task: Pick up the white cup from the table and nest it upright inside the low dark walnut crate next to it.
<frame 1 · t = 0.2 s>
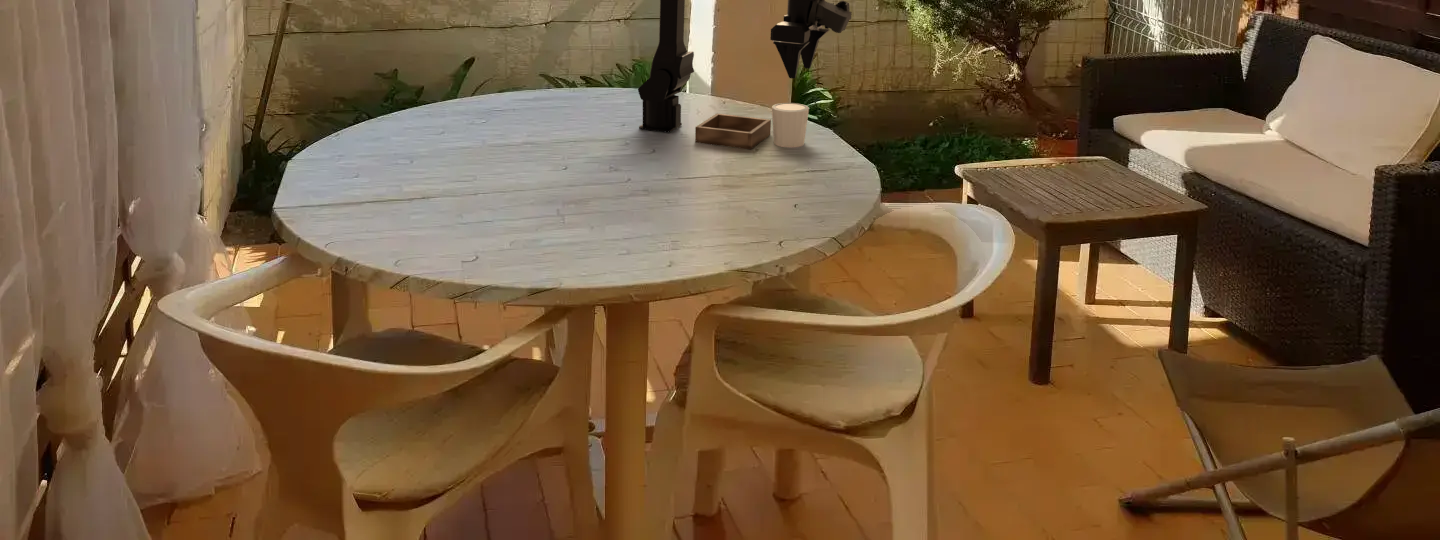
hand: (799, 73, 230), 13 cm above the table, tool pointing down, fingers open, 9 cm apart
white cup: (788, 144, 235), on the table
walnut crate: (733, 138, 237), on the table
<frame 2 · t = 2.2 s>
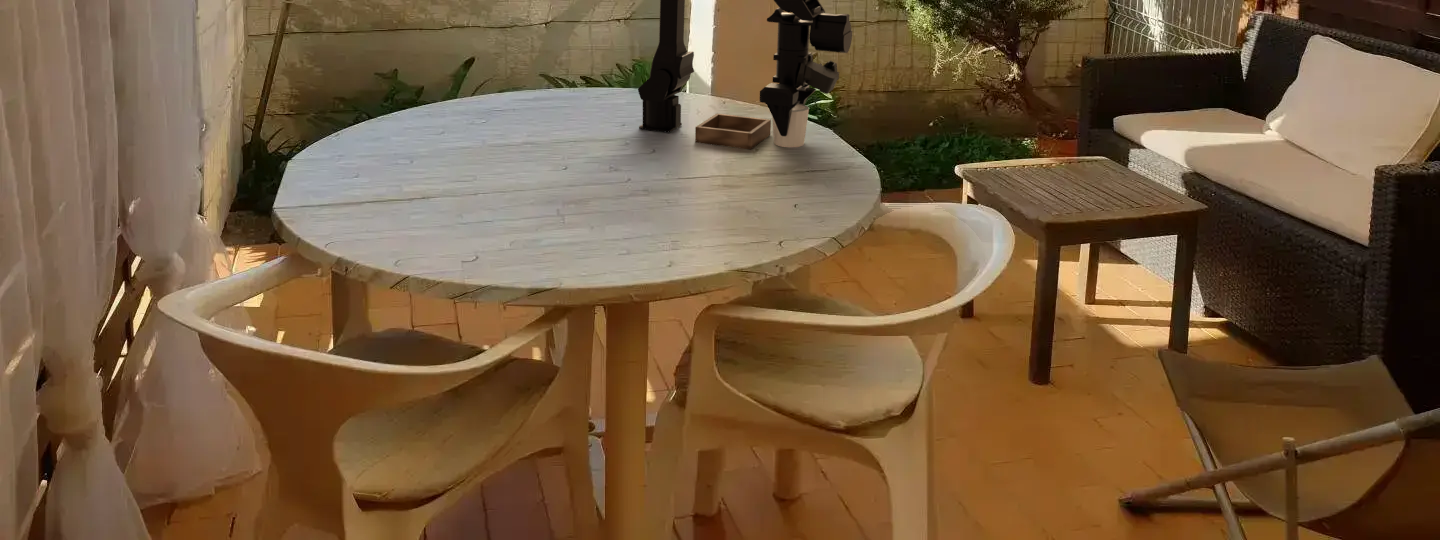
hand: (789, 131, 234), 2 cm above the table, tool pointing down, fingers closed on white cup, 6 cm apart
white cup: (788, 144, 235), on the table, touching gripper
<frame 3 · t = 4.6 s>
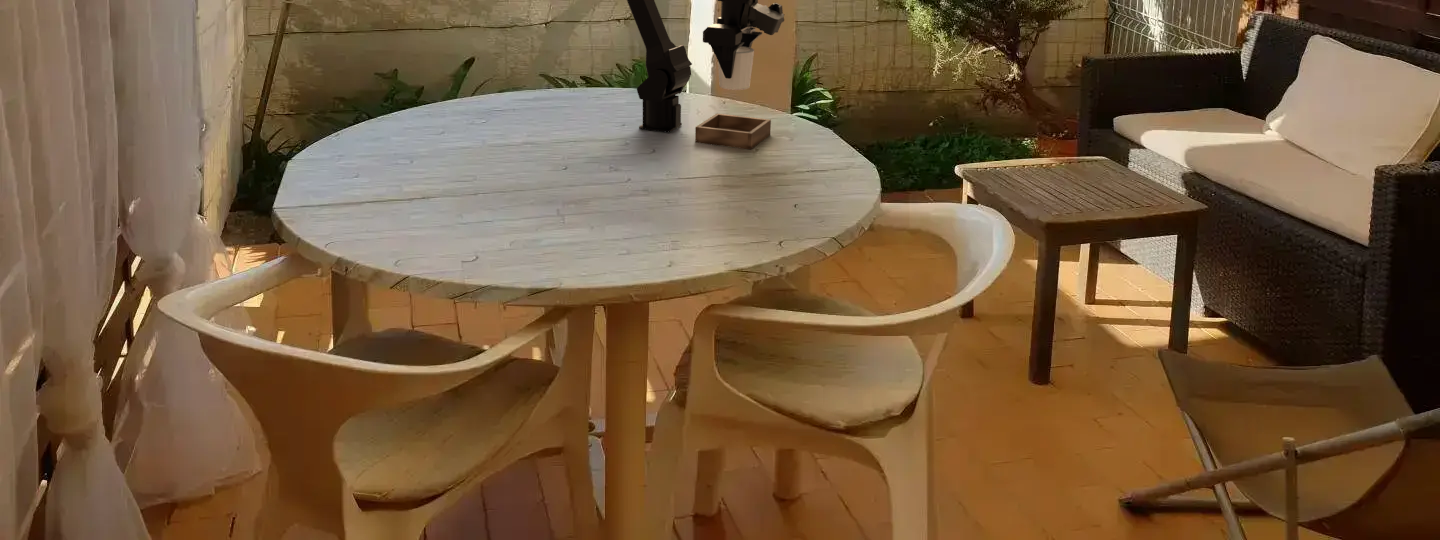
hand: (734, 74, 233), 12 cm above the table, tool pointing down, fingers closed on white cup, 6 cm apart
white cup: (734, 87, 234), point 10 cm above the table, touching gripper
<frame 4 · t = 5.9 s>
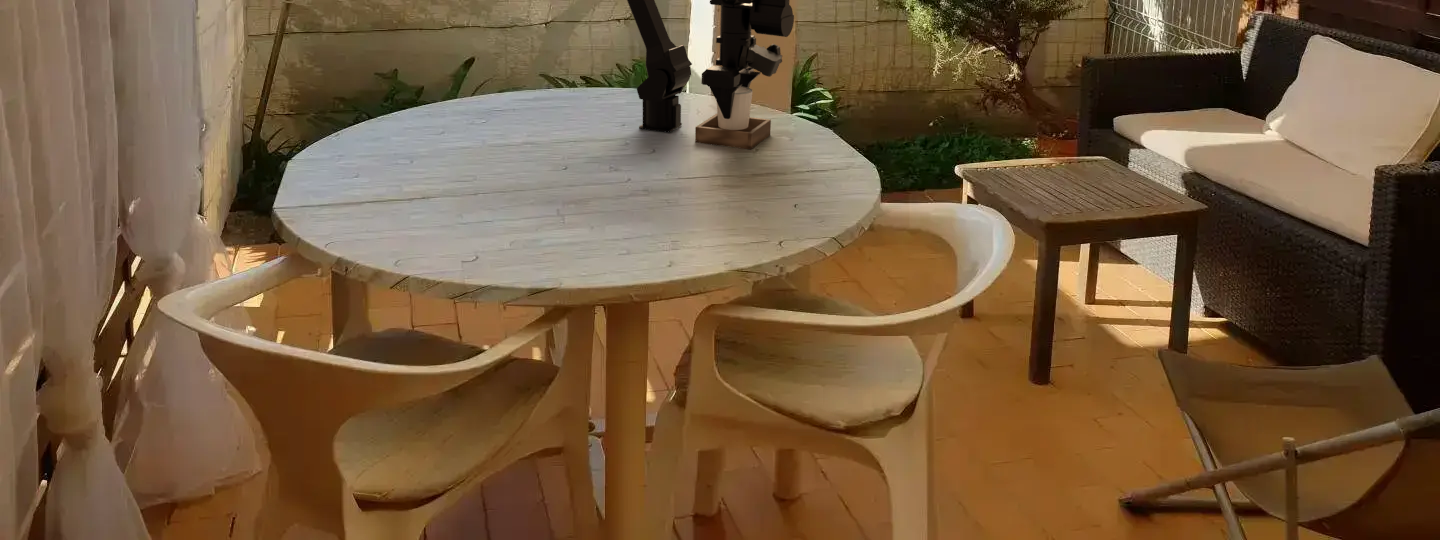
hand: (733, 114, 236), 5 cm above the table, tool pointing down, fingers closed on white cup, 6 cm apart
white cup: (733, 127, 236), point 2 cm above the table, touching gripper
when the fingers open (4 cm above the table, at t = 6.9 s): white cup drops 1 cm, resting on walnut crate.
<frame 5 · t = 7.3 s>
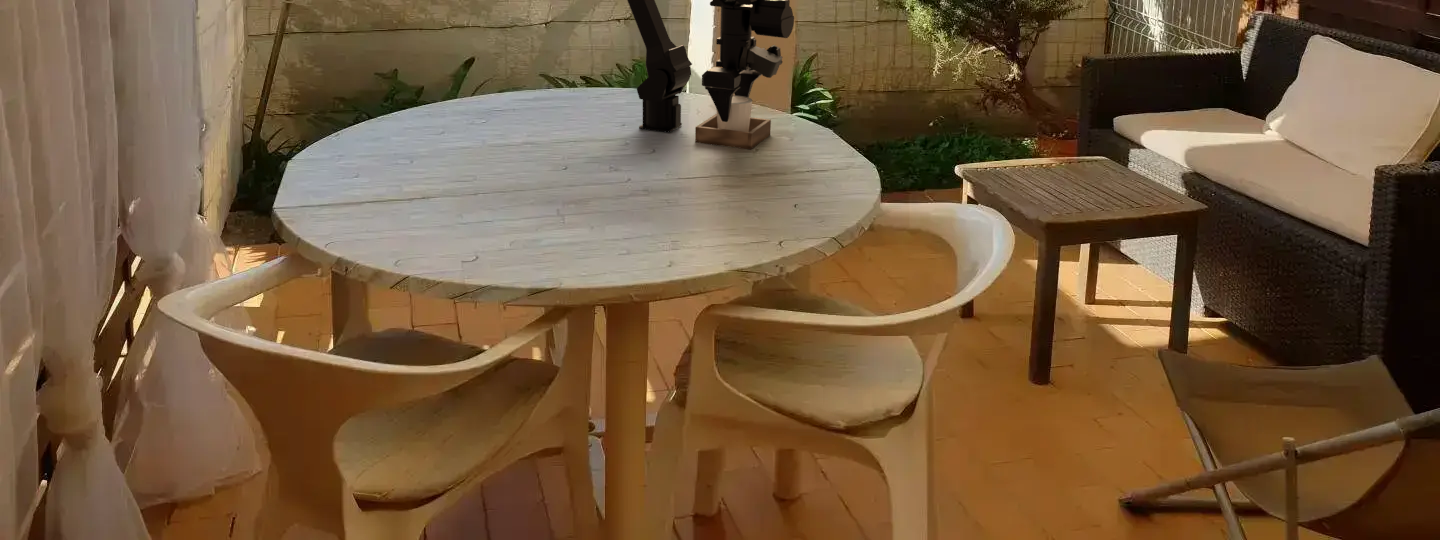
hand: (733, 115, 236), 4 cm above the table, tool pointing down, fingers open, 9 cm apart
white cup: (733, 136, 237), resting on walnut crate
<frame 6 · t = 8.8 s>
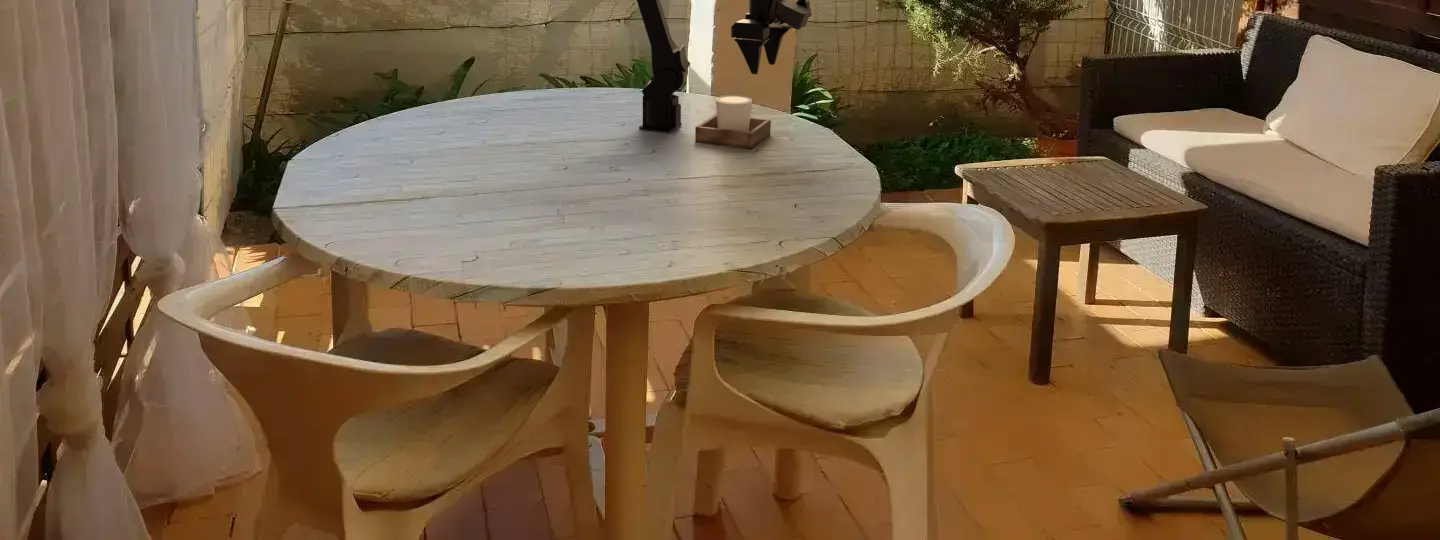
hand: (763, 69, 237), 12 cm above the table, tool pointing down, fingers open, 9 cm apart
nothing on the table moved.
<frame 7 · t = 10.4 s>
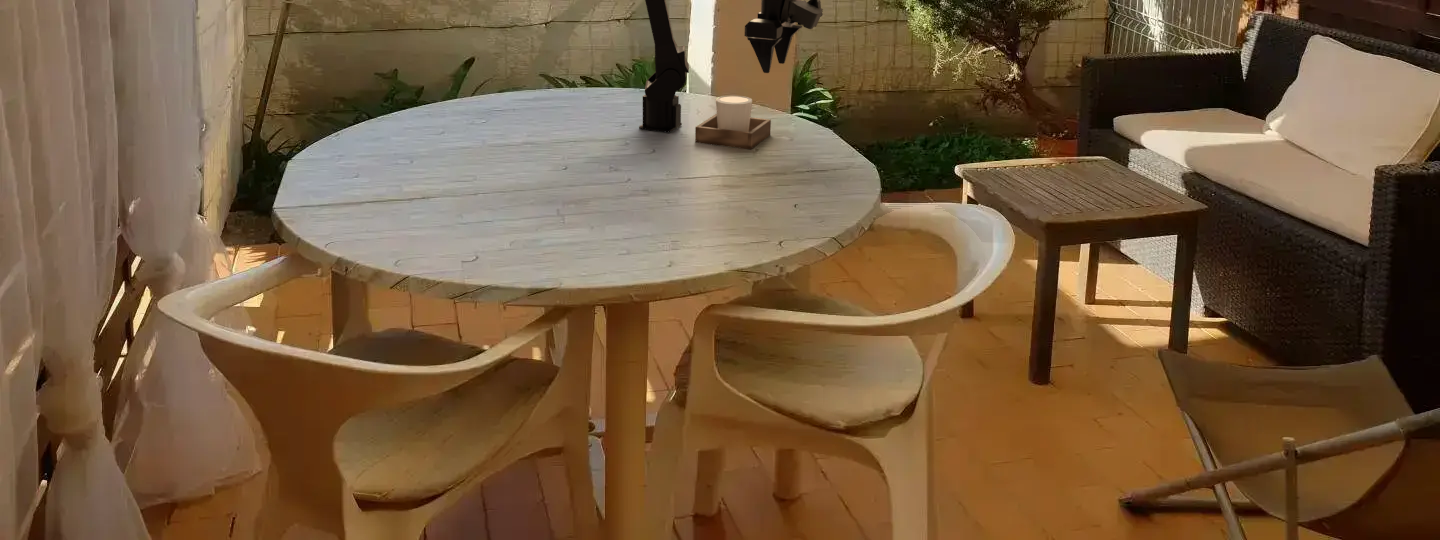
hand: (774, 68, 240), 12 cm above the table, tool pointing down, fingers open, 9 cm apart
nothing on the table moved.
at the end: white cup 0.0 cm off-centre on the walnut crate, point 0.4 cm above the walnut crate's base; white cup tilted 0°; the gripper is holding nothing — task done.
